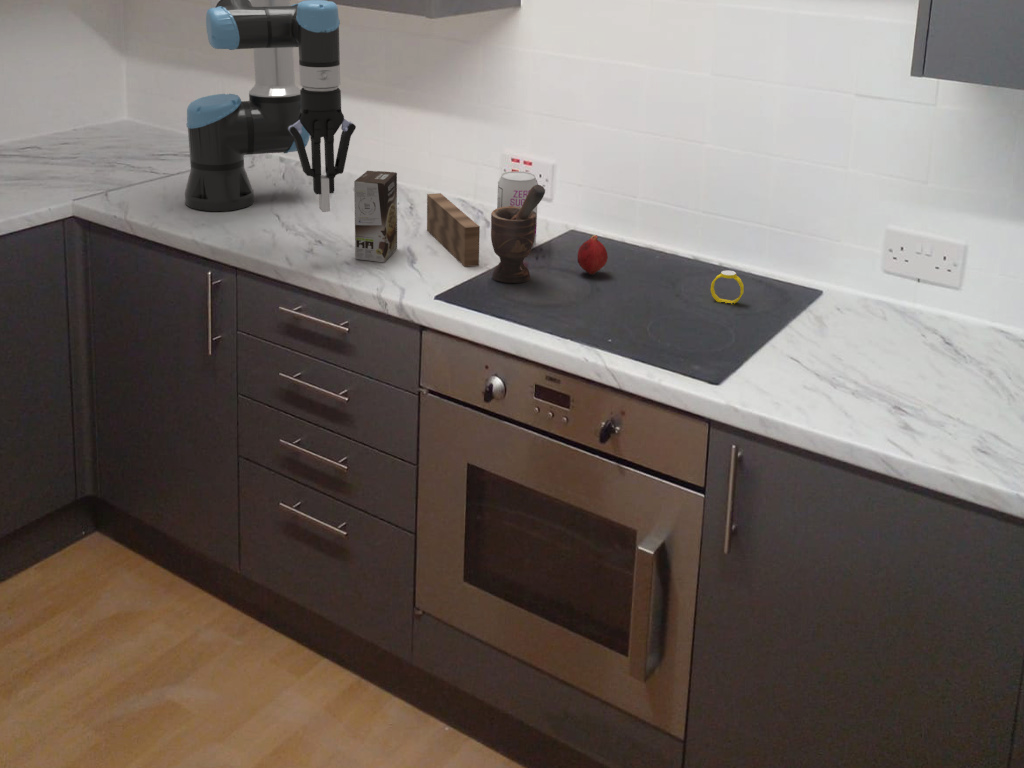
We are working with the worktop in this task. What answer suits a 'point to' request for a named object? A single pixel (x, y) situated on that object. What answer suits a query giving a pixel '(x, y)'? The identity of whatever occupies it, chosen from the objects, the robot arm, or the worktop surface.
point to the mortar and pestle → (514, 237)
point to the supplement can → (515, 190)
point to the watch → (728, 275)
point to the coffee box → (375, 215)
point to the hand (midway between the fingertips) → (324, 209)
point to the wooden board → (453, 229)
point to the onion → (592, 255)
